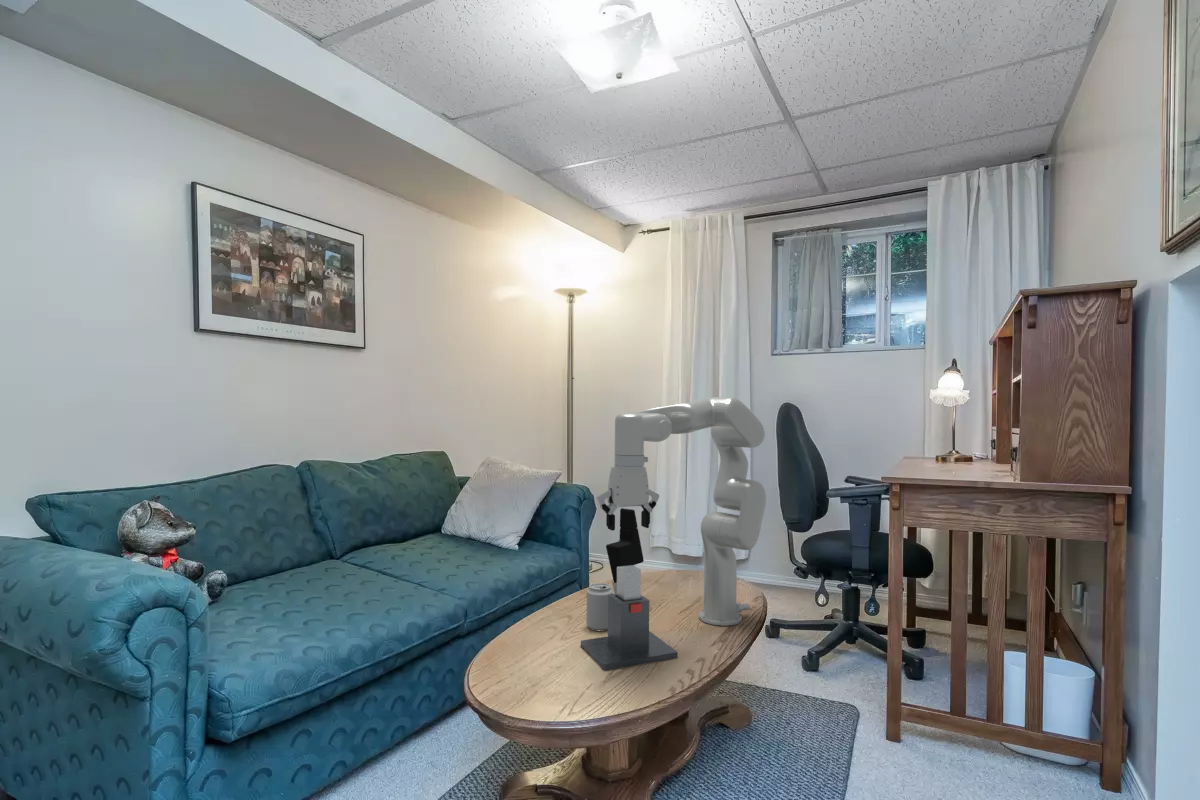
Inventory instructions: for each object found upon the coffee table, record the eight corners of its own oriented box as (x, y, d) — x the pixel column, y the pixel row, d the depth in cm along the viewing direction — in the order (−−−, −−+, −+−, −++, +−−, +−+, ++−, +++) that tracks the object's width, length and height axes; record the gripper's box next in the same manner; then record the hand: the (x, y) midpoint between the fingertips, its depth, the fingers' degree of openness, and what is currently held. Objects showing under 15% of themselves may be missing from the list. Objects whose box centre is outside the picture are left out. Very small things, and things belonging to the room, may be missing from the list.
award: (630, 595, 203) (631, 505, 204) (644, 598, 200) (644, 507, 201) (604, 607, 191) (605, 511, 191) (618, 610, 188) (619, 513, 188)
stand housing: (648, 635, 168) (648, 584, 168) (677, 658, 153) (678, 602, 153) (580, 646, 160) (581, 592, 160) (604, 670, 145) (605, 611, 145)
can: (610, 633, 169) (610, 589, 170) (583, 630, 171) (584, 588, 171) (614, 623, 177) (615, 582, 177) (589, 621, 178) (589, 580, 178)
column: (632, 639, 160) (633, 565, 160) (640, 646, 155) (641, 569, 155) (615, 642, 158) (616, 566, 158) (623, 649, 153) (624, 571, 153)
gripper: (652, 459, 164) (651, 523, 163) (592, 461, 157) (591, 527, 157) (665, 462, 157) (664, 528, 157) (603, 463, 150) (603, 533, 150)
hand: (628, 528), depth 157 cm, fingers open, 9 cm apart
